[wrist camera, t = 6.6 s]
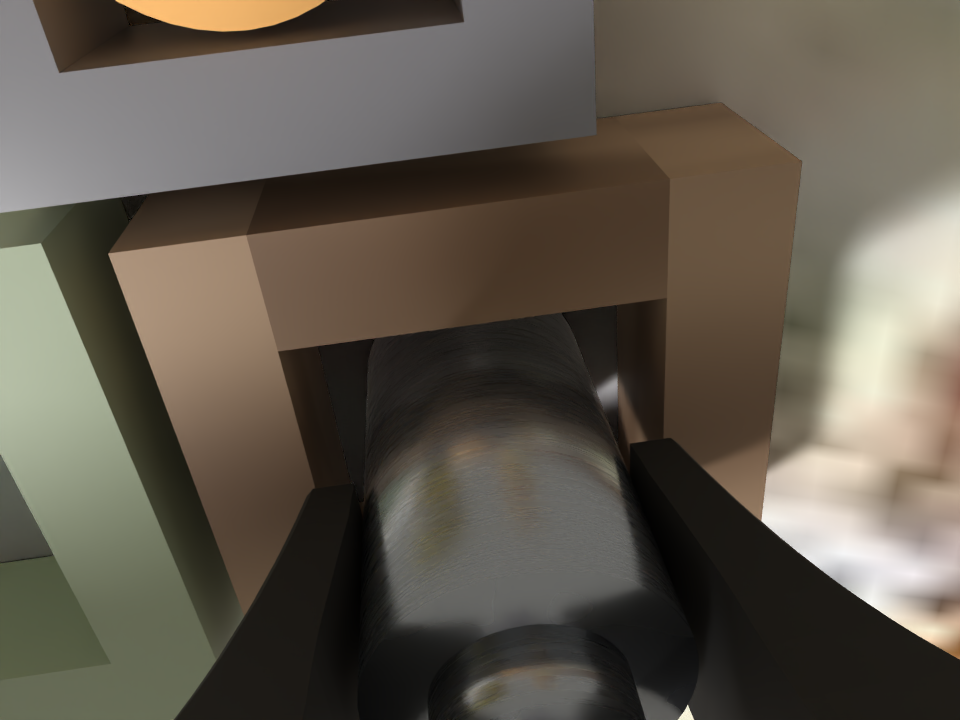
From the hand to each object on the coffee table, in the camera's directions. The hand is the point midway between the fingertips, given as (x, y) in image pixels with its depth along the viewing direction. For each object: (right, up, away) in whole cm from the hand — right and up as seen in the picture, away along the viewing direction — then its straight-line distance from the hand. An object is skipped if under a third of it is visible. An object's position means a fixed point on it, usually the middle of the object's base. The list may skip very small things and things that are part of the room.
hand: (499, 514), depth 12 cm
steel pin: (0, +2, +3) cm, 4 cm away
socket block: (0, +2, +3) cm, 4 cm away
